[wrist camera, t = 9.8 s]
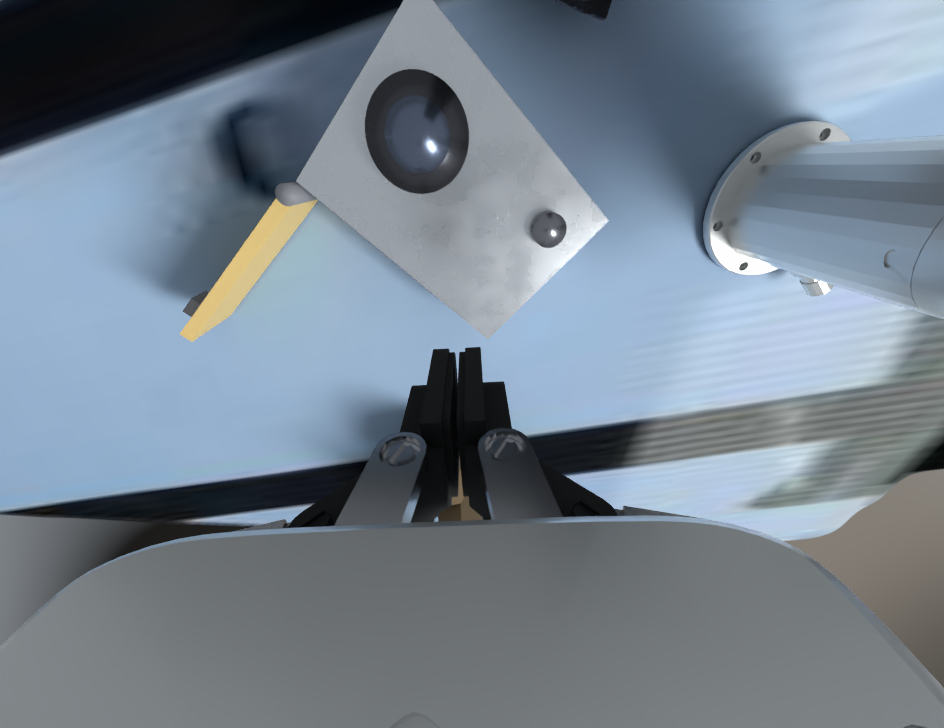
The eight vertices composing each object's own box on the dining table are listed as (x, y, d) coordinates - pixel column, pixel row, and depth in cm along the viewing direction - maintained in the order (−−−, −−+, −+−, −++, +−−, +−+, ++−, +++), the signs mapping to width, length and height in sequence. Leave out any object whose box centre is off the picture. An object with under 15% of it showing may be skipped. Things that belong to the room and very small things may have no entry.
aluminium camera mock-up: (579, 210, 31) (615, 222, 24) (480, 312, 35) (488, 346, 29) (423, 23, 24) (414, -31, 17) (325, 179, 28) (288, 183, 22)
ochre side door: (233, 315, 33) (189, 346, 28) (209, 299, 32) (158, 327, 27) (330, 189, 28) (301, 195, 23) (305, 165, 27) (268, 165, 22)
